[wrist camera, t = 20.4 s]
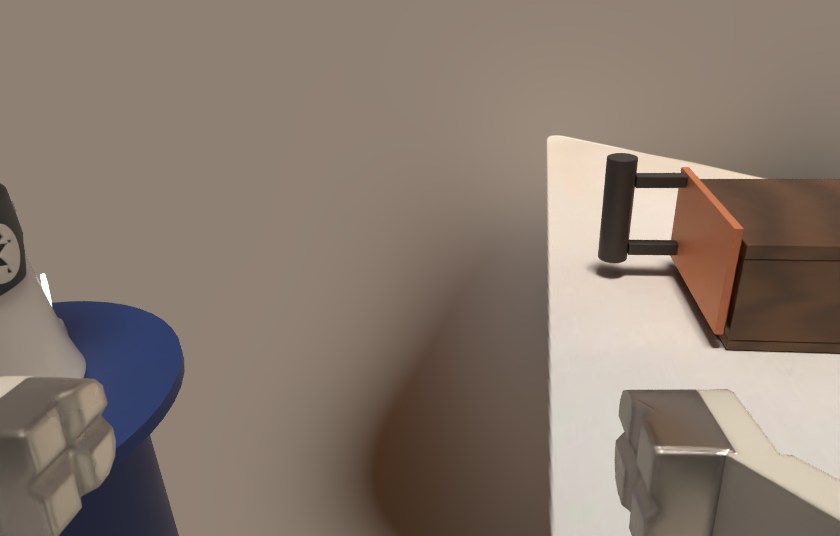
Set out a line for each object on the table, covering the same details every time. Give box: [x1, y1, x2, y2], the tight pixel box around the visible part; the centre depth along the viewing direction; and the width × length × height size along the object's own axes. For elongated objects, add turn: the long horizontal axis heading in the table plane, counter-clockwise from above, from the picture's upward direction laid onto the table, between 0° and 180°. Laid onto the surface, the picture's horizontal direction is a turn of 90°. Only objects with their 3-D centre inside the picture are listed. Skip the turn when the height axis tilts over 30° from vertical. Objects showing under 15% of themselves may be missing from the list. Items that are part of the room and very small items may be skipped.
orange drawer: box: [598, 153, 744, 334], centre depth 47 cm, size 22×14×9 cm, turn 83°
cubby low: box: [700, 179, 840, 353], centre depth 48 cm, size 16×14×8 cm
